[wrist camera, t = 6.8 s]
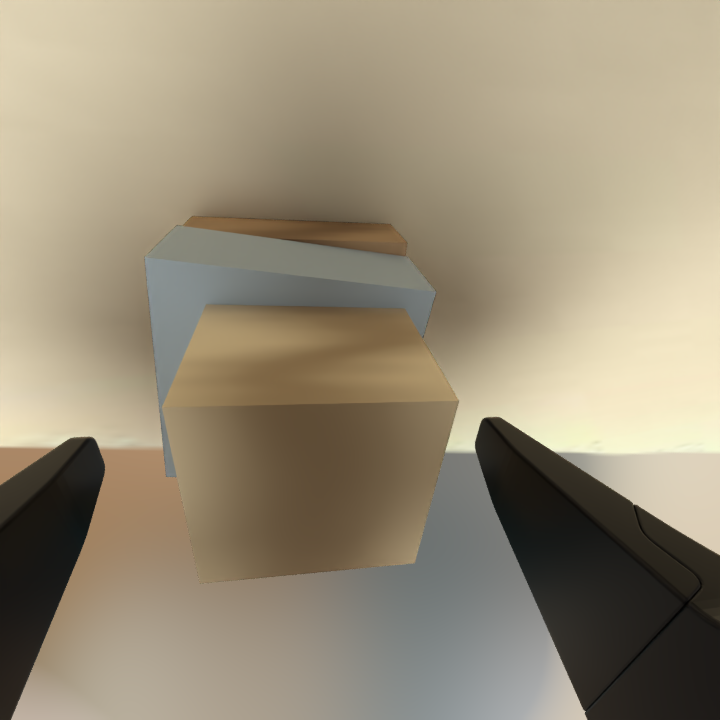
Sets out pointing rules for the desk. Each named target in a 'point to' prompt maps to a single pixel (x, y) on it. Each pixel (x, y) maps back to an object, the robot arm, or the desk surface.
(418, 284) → the slate block
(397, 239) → the walnut block
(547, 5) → the desk surface
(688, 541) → the robot arm
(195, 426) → the oak block
